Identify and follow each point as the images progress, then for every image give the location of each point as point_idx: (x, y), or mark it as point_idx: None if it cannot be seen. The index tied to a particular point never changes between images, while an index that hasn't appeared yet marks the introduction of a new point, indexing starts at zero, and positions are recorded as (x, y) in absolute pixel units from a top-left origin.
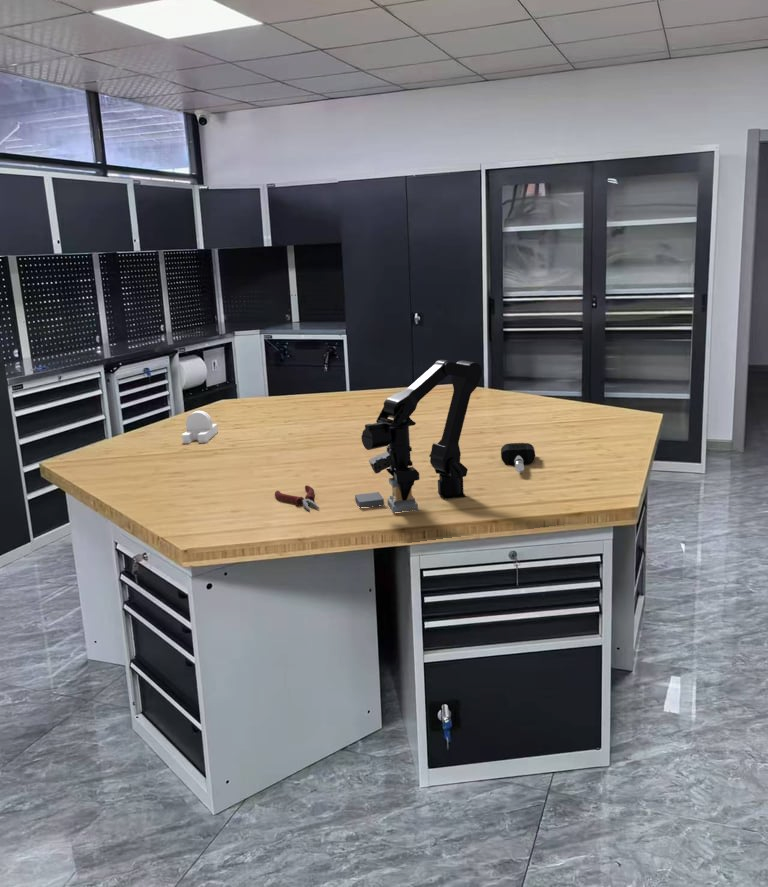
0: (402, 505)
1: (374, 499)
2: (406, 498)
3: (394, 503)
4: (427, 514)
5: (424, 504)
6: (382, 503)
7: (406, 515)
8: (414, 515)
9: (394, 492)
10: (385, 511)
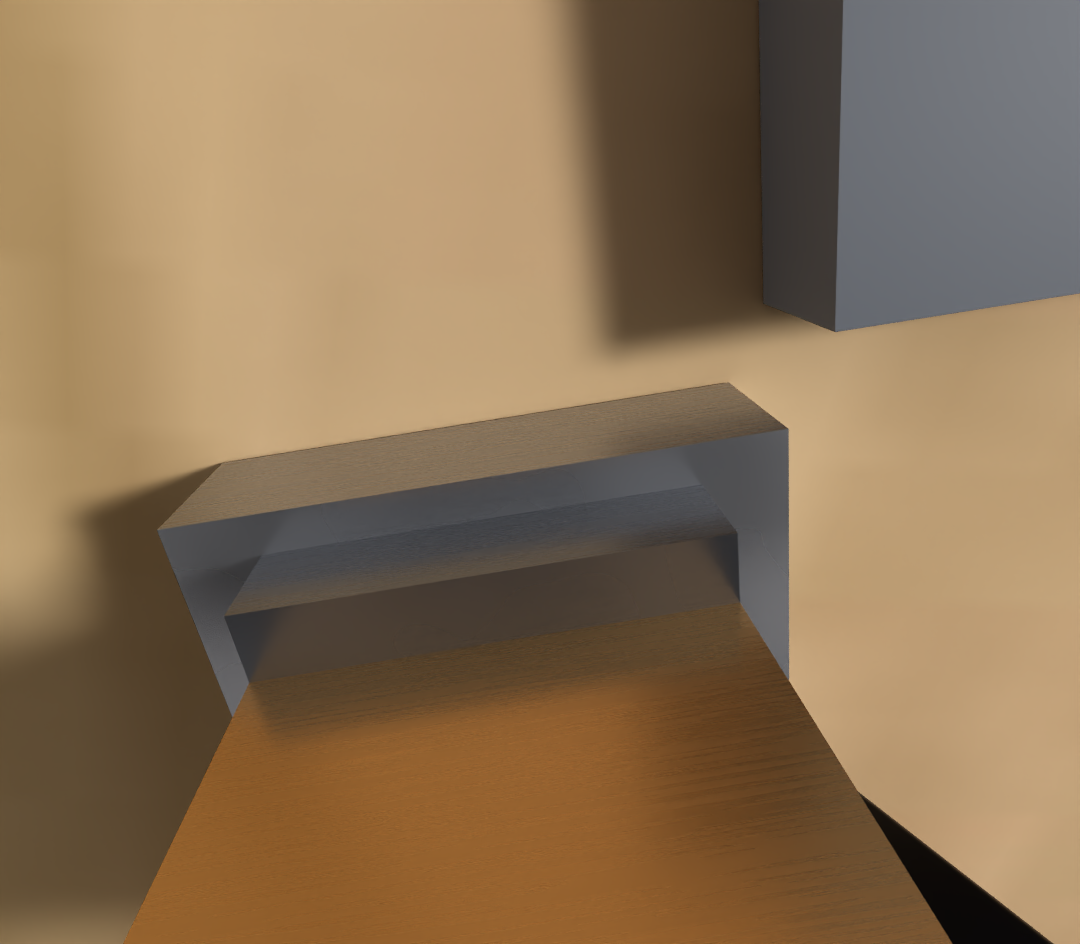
0: None
1: (923, 47)
2: None
3: (247, 598)
4: None
5: None
6: (789, 277)
7: (124, 674)
8: (122, 781)
9: (443, 799)
10: (401, 312)
